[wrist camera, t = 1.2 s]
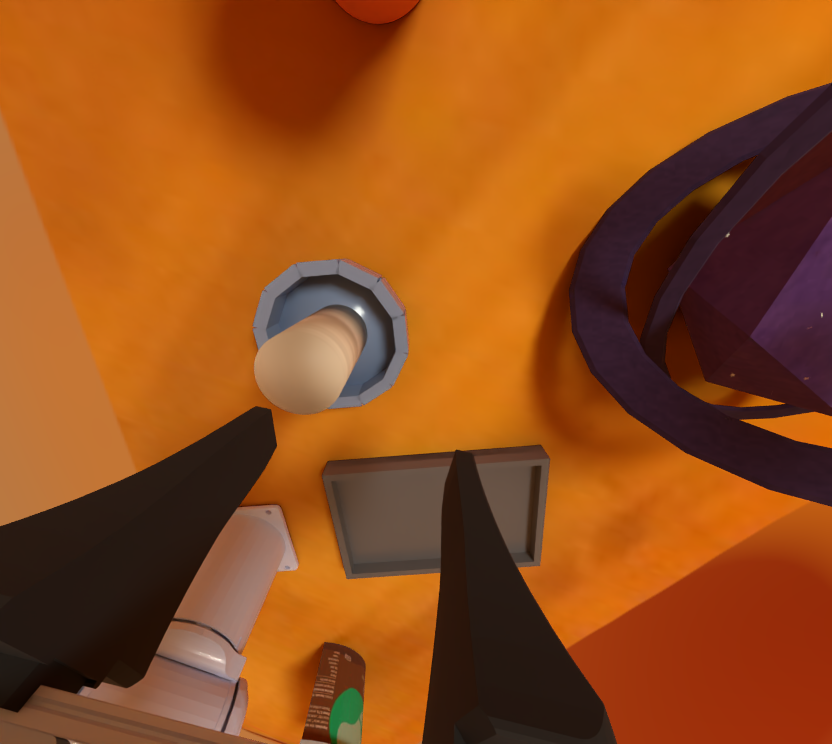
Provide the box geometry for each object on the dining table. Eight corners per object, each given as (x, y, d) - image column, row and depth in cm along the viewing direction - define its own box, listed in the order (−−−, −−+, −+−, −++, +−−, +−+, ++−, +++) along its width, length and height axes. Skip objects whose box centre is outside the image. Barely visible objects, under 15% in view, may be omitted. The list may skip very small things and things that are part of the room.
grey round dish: (289, 397, 23) (276, 412, 21) (256, 266, 20) (235, 268, 18) (413, 387, 23) (413, 402, 21) (400, 254, 20) (398, 253, 18)
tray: (350, 560, 30) (346, 579, 28) (327, 461, 26) (321, 475, 24) (532, 548, 30) (540, 565, 28) (540, 445, 25) (549, 458, 24)
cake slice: (371, 696, 39) (358, 835, 30) (323, 693, 39) (295, 834, 29) (379, 637, 35) (367, 779, 25) (324, 634, 34) (292, 776, 25)
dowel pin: (316, 362, 22) (267, 417, 14) (304, 306, 21) (243, 336, 13) (371, 358, 22) (349, 411, 14) (363, 301, 20) (334, 328, 13)
